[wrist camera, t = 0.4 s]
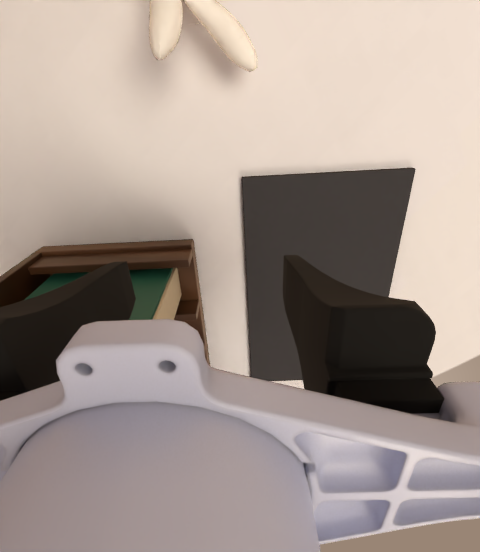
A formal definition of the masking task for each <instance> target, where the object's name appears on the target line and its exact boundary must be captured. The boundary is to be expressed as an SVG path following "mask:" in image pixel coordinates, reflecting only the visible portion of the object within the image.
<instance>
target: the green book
mask: <svg viewBox="0 0 480 552" xmlns="http://www.w3.org/2000/svg"><path fill="white" fill-rule="evenodd" d="M129 272H130V276H131V281H132V285H133V289H134V293H135V297H136V300H135V304H134V307H133V310H132V313H131V316H130V318H129V320H152V319H171V320H174V318H175V314H176V311H177V308H178V305H179V301H180V298H181V295H182V294H181V288H180V282H179V276H178V270H177V268H162V269H141V270H129ZM88 273H90V272H77V273H56V274H53V275H52V276H50V277H49V278H48V279H47V280H46V281H45V282H44V283H43V284H41V285H40V286H39V287H38V288H37V289H36V290H35V291H34V292H32V293H31V294H30V295H29V296H28V297H27V298H26V299H25V300H27V299H30V298H33V297H36V296H39V295H42V294H44V293H47V292H49V291H52V290H54V289H57V288H59V287H61V286H63V285H65V284H68V283H70V282H72V281H74V280H76V279H78V278H80V277H82V276H84V275H86V274H88Z"/></svg>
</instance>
